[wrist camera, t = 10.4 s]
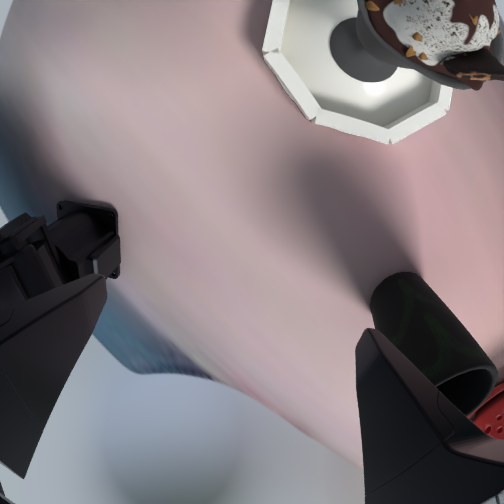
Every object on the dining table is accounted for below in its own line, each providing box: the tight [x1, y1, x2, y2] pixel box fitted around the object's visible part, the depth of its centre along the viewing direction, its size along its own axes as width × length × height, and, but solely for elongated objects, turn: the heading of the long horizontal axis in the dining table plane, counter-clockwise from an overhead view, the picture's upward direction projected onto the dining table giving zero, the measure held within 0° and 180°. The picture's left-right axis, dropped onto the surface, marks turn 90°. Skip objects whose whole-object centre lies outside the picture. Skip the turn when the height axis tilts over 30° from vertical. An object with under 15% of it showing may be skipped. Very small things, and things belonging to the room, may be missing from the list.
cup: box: [370, 272, 498, 417], centre depth 18 cm, size 8×8×12 cm
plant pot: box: [467, 383, 504, 440], centre depth 27 cm, size 13×13×12 cm
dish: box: [262, 0, 453, 145], centre depth 14 cm, size 13×13×2 cm
